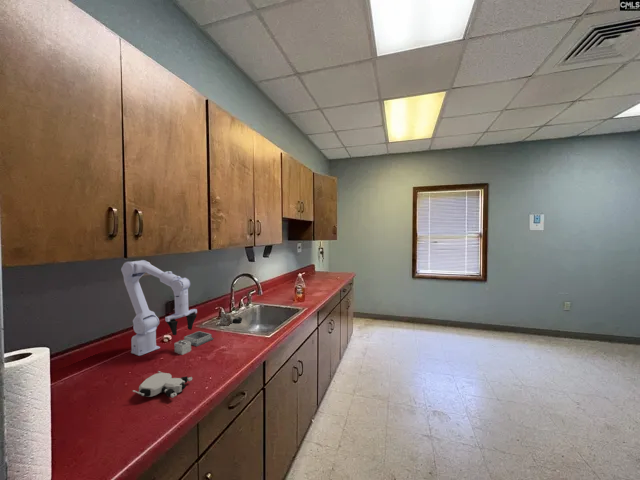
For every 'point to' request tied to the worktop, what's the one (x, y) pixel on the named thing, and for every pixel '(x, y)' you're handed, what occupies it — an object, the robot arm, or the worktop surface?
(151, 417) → the worktop surface
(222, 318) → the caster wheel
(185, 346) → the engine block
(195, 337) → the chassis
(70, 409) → the worktop surface
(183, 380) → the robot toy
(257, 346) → the worktop surface
